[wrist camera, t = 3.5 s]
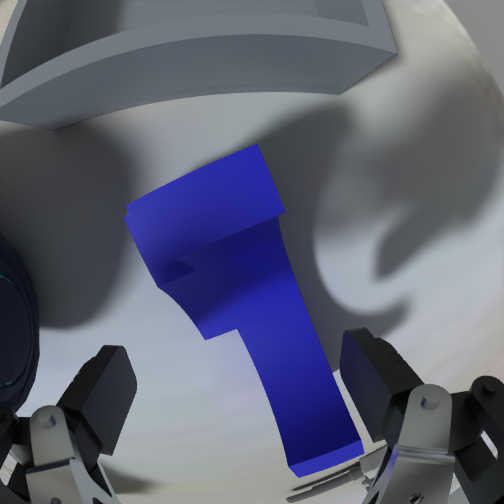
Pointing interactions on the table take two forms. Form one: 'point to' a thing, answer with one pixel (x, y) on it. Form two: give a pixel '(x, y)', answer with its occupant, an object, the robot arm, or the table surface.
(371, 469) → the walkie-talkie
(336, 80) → the bin
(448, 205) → the table surface
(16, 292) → the portable speaker
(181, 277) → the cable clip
